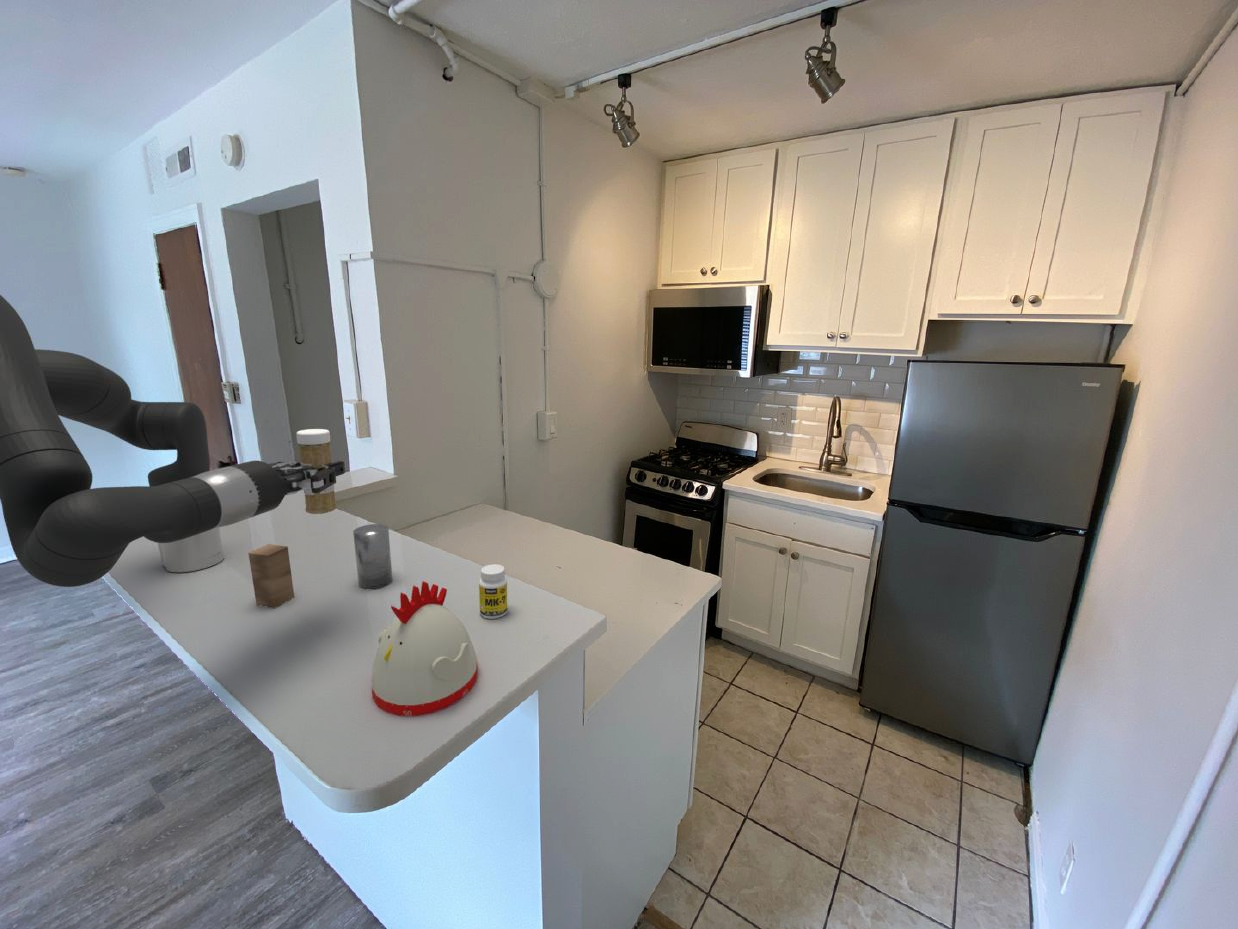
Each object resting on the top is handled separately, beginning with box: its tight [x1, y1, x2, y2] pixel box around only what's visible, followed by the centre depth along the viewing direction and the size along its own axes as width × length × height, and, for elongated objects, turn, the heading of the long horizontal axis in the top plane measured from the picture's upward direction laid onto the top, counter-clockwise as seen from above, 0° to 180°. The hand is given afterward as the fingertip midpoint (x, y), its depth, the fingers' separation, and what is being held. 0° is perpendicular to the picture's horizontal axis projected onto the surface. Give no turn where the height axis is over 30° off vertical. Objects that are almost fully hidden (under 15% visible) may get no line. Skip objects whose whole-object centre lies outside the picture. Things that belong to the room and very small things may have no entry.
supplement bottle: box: [478, 564, 508, 620], centre depth 87 cm, size 5×5×8 cm
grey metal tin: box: [352, 523, 393, 590], centre depth 96 cm, size 6×6×11 cm
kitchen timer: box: [371, 580, 479, 717], centre depth 69 cm, size 14×14×15 cm
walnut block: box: [248, 543, 295, 608], centre depth 88 cm, size 4×4×10 cm
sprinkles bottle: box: [296, 428, 338, 515], centre depth 81 cm, size 5×5×14 cm
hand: (329, 465), depth 83 cm, fingers closed on sprinkles bottle, 4 cm apart
